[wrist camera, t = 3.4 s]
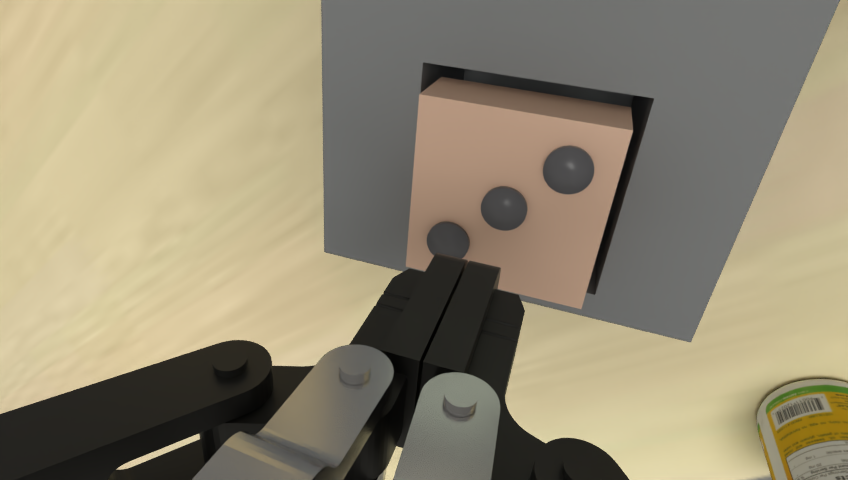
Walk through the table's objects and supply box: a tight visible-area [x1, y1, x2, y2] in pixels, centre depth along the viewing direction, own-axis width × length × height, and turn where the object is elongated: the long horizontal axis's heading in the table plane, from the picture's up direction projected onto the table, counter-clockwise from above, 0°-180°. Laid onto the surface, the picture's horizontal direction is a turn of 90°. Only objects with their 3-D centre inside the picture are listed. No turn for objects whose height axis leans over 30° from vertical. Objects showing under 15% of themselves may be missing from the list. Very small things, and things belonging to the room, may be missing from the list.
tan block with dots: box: [406, 77, 633, 309], centre depth 18 cm, size 6×6×4 cm
